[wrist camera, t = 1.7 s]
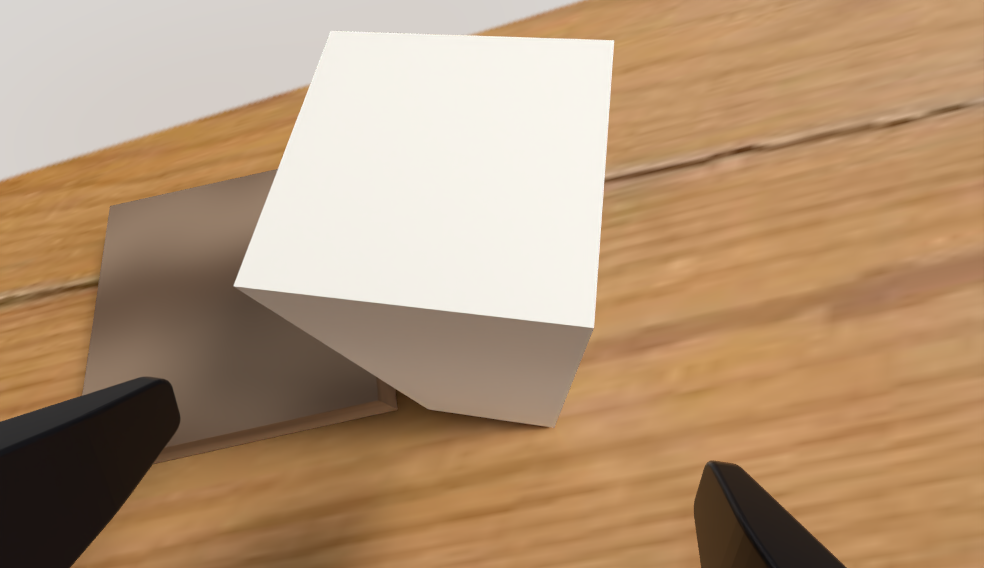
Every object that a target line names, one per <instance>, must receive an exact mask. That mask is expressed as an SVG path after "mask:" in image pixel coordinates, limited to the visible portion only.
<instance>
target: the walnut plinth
mask: <svg viewBox="0 0 984 568" xmlns="http://www.w3.org/2000/svg"><path fill="white" fill-rule="evenodd" d="M277 171H278V169H276V170H271V171H267V172H262V173H258V174H253V175H249V176H244V177H240V178H235V179H231V180H226V181H222V182H217V183H213V184H208V185H204V186H199V187H195V188H190V189H185V190H181V191H176V192H172V193H167V194H163V195H158V196H154V197H149V198H145V199H140V200H136V201H131V202H127V203H122V204H118V205H113V206H110V210H109V217H108V224H107V231H106V238H105V244H104V251H103V258H102V265H101V272H100V279H99V285H98V292H97V299H96V306H95V313H94V319H93V326H92V333H91V340H90V347H89V353H88V360H87V367H86V374H85V381H84V388H83V394H82V396H83V395H86V394H89V393H92V392H95V391H98V390H101V389H104V388H108V387H111V386H114V385H117V384H120V383H123V382H126V381H129V380H133V379H136V378H139V377H144V376H148V377H155V378H162V379H166V380H168V381H169V382H170V383H171V385H172V387H173V391H174V394H175V398H176V401H177V405H178V409H179V412H180V417H181V419H180V425H179V427H178V430H177V431H176V433H175V434H174V436H173V437H172V438H171V440H170V441H169V442H168V444H167V445H166V447H165V448H164V449H163V451H162V452H161V453H160V455H159V456H158V458H157V459H156V460H155V462H154V463H153V464H155V463H159V462H164V461H168V460H173V459H177V458H182V457H186V456H191V455H195V454H200V453H205V452H209V451H214V450H218V449H223V448H227V447H232V446H236V445H241V444H245V443H250V442H254V441H259V440H263V439H268V438H272V437H277V436H281V435H286V434H291V433H295V432H300V431H304V430H309V429H313V428H318V427H322V426H327V425H331V424H336V423H340V422H345V421H349V420H354V419H358V418H363V417H368V416H372V415H377V414H381V413H386V412H390V411H395V410H398V406H397V398H396V390H395V388H393V387H392V386H390V385H389V384H387V383H386V382H384V381H382V380H381V379H379V378H378V377H376V376H374V375H373V374H371V373H370V372H368V371H367V370H365V369H363V368H362V367H360V366H359V365H357V364H355V363H354V362H352V361H351V360H349V359H348V358H346V357H344V356H343V355H341V354H340V353H338V352H336V351H335V350H333V349H332V348H330V347H329V346H327V345H325V344H324V343H322V342H321V341H319V340H317V339H316V338H314V337H313V336H311V335H310V334H308V333H306V332H305V331H303V330H302V329H300V328H298V327H297V326H295V325H294V324H292V323H291V322H289V321H287V320H286V319H284V318H283V317H281V316H280V315H278V314H276V313H275V312H273V311H272V310H270V309H268V308H267V307H265V306H264V305H262V304H261V303H259V302H257V301H256V300H254V299H253V298H251V297H249V296H248V295H246V294H245V293H243V292H242V291H240V290H238V289H237V288H235V287H234V283H235V280H236V278H237V275H238V273H239V270H240V267H241V265H242V262H243V259H244V257H245V254H246V252H247V249H248V246H249V244H250V241H251V239H252V236H253V233H254V231H255V228H256V225H257V223H258V220H259V218H260V215H261V212H262V210H263V207H264V205H265V202H266V199H267V197H268V194H269V191H270V189H271V186H272V184H273V181H274V178H275V176H276V173H277Z"/></svg>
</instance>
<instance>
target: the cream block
mask: <svg viewBox="0 0 984 568" xmlns="http://www.w3.org/2000/svg"><path fill="white" fill-rule="evenodd" d="M613 48H614V41H613V40H583V39H554V38H524V37H495V36H465V35H436V34H435V35H434V34H433V35H432V34H405V33H377V32H347V31H331V32H330V34H329V37H328V40H327V42H326V45H325V48H324V50H323V53H322V55H321V58H320V61H319V63H318V66H317V68H316V71H315V74H314V76H313V79H312V82H311V84H310V87H309V89H308V92H307V95H306V97H305V100H304V103H303V105H302V108H301V110H300V113H299V116H298V118H297V121H296V123H295V126H294V129H293V131H292V134H291V137H290V139H289V142H288V144H287V147H286V150H285V152H284V155H283V157H282V160H281V163H280V165H279V168H278V171H277V173H276V176H275V178H274V181H273V184H272V186H271V189H270V191H269V194H268V197H267V199H266V202H265V205H264V207H263V210H262V212H261V215H260V218H259V220H258V223H257V225H256V228H255V231H254V233H253V236H252V239H251V241H250V244H249V246H248V249H247V252H246V254H245V257H244V259H243V262H242V265H241V267H240V270H239V273H238V275H237V278H236V280H235V283H234V287H235V288H237V289H238V290H240V291H242V292H243V293H245V294H246V295H248V296H249V297H251V298H253V299H254V300H256V301H257V302H259V303H261V304H262V305H264V306H265V307H267V308H268V309H270V310H272V311H273V312H275V313H276V314H278V315H280V316H281V317H283V318H284V319H286V320H287V321H289V322H291V323H292V324H294V325H295V326H297V327H298V328H300V329H302V330H303V331H305V332H306V333H308V334H310V335H311V336H313V337H314V338H316V339H317V340H319V341H321V342H322V343H324V344H325V345H327V346H329V347H330V348H332V349H333V350H335V351H336V352H338V353H340V354H341V355H343V356H344V357H346V358H348V359H349V360H351V361H352V362H354V363H355V364H357V365H359V366H360V367H362V368H363V369H365V370H367V371H368V372H370V373H371V374H373V375H374V376H376V377H378V378H379V379H381V380H382V381H384V382H386V383H387V384H389V385H390V386H392V387H393V388H395V389H397V390H398V391H400V392H401V393H403V394H405V395H406V396H408V397H409V398H411V399H412V400H414V401H416V402H417V403H419V404H420V405H422V406H424V407H425V408H427V409H429V410H436V411H443V412H449V413H456V414H463V415H470V416H477V417H484V418H491V419H498V420H504V421H511V422H518V423H525V424H532V425H539V426H546V427H552V428H554V427H555V424H556V422H557V419H558V417H559V414H560V412H561V409H562V407H563V404H564V402H565V399H566V397H567V394H568V392H569V389H570V387H571V384H572V382H573V379H574V377H575V374H576V372H577V369H578V367H579V364H580V362H581V359H582V356H583V354H584V351H585V349H586V346H587V344H588V341H589V339H590V336H591V334H592V331H593V329H594V318H595V304H596V290H597V276H598V262H599V247H600V233H601V219H602V205H603V191H604V176H605V162H606V148H607V134H608V119H609V105H610V91H611V77H612V63H613Z"/></svg>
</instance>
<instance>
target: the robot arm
mask: <svg viewBox="0 0 984 568" xmlns="http://www.w3.org/2000/svg"><path fill="white" fill-rule="evenodd" d="M180 419H181V417H180V412H179V409H178V405H177V401H176V398H175V394H174V391H173V387H172V385H171V383H170V382H169V381H168V380H166V379H162V378H155V377H148V376H144V377H139V378H136V379H133V380H129V381H126V382H123V383H120V384H117V385H114V386H111V387H108V388H104V389H101V390H98V391H95V392H92V393H89V394H86V395H83V396H80V397H76V398H73V399H70V400H67V401H64V402H61V403H58V404H55V405H51V406H48V407H45V408H42V409H39V410H36V411H33V412H30V413H26V414H23V415H20V416H17V417H14V418H11V419H8V420H5V421H1V422H0V568H70V567H71V566H72V565H73V564H74V562H75V561H76V560H77V559H78V558H79V557H80V555H81V554H82V553H83V552H84V551H85V550H86V548H87V547H88V546H89V545H90V544H91V543H92V541H93V540H94V539H95V538H96V537H97V536H98V534H99V533H100V532H101V531H102V530H103V529H104V527H105V526H106V525H107V524H108V523H109V521H110V520H111V519H112V518H113V517H114V515H115V514H116V513H117V512H118V511H119V509H120V508H121V507H122V505H123V504H124V503H125V501H126V500H127V499H128V497H129V496H130V495H131V493H132V492H133V491H134V489H135V488H136V486H137V485H138V484H139V482H140V481H141V480H142V478H143V477H144V475H145V474H146V473H147V471H148V470H149V469H150V467H151V466H152V464H153V463H154V462H155V460H156V459H157V458H158V456H159V455H160V453H161V452H162V451H163V449H164V448H165V447H166V445H167V444H168V442H169V441H170V440H171V438H172V437H173V436H174V434H175V433H176V431H177V430H178V427H179V425H180ZM694 519H695V526H696V533H697V541H698V548H699V555H700V562H701V568H847V567H845V566H844V565H843V564H842V563H841V562H840V561H839V560H838V559H837V558H836V557H835V556H834V555H833V554H832V553H831V552H830V551H829V550H828V549H827V548H825V547H824V546H823V545H822V544H821V543H820V542H819V541H818V540H817V539H816V538H815V537H814V536H813V535H812V534H811V533H810V532H809V531H808V530H807V529H805V528H804V527H803V526H802V525H801V524H800V523H799V522H798V521H797V520H796V519H795V518H794V517H793V516H792V515H791V514H790V513H789V512H788V511H787V510H785V509H784V508H783V507H782V506H781V505H780V504H779V503H778V502H777V501H776V500H775V499H774V498H773V497H772V496H771V495H770V494H769V493H768V492H767V491H765V490H764V489H763V488H762V487H761V486H760V485H759V484H758V483H757V482H756V481H755V480H754V479H753V478H752V477H751V476H750V475H749V474H748V473H747V472H745V471H744V470H743V469H742V468H741V467H740V466H738V465H736V464H733V463H726V462H720V461H709V462H707V464H706V465H705V467H704V470H703V474H702V477H701V480H700V484H699V487H698V491H697V494H696V497H695V502H694Z"/></svg>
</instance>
